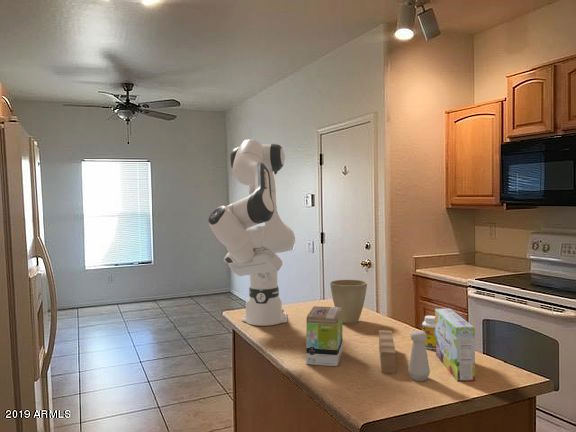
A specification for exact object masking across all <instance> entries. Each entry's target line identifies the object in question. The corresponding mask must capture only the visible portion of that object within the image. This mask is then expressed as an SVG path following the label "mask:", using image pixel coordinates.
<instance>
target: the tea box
mask: <svg viewBox="0 0 576 432" xmlns="http://www.w3.org/2000/svg"><path fill="white" fill-rule="evenodd" d="M343 324H344V323H343V310H342V308H340V307H335V306H334V307H333V306H318V305H317V306H313V307H312V308H311V310H310V311H309V313H308V314H307V315H306V330H305V331H306V333H305V334H306V338H305V339H306V340H305V341H306V342H305V345H306V346H305V347H306V348H305V351H306V352H305V364H306V365H312V366H323V367H324V366H325V367H326V366H328V367H338V365H339V362H340V360H341V356H342V352H343Z"/></svg>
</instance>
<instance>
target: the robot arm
mask: <svg viewBox="0 0 576 432" xmlns="http://www.w3.org/2000/svg"><path fill="white" fill-rule="evenodd" d="M229 155H230V157H229V163H230V166H231V168H232V174H233V176H234V178H235V180H236V181H238V183H240V184H243V185H245V186H248V196H245V197H244V198H241V199H239V200H237V201H234V202H232V203H230V204H228V205H221V206H218V207H216V208H215V209H214V210H213V211H212V212H211V213H210V215H208V218H207V219H208V220H207V222H208V225H209V228H210V230H211V231H212V233H213V234H214V236H215V237H216V238H217V240H218V241H219V243H221V244H222V245H224V246H225V248H226V251H227V253H226V255H224V258H223V262H224V263H225V264H227V266H228V267H229V268H230V269H231V271H232V272H233V273H234V274H235V275H237V276H238V277H242V276H243V277H244V276H249V282H250V283H249V285H250V286H249V288H248V289H249V291H248V294H249V295H248V297H249V298H248V299H247V300H246V301H245V316H244V317H242V318H241V322H245V323H247V324H249V325H251V326H260V327H261V326H264V327H265V326H267V327H268V326H274V325H278V324H285V323H288V316H287V311H285V310H284V309H283V307H282V306H283V304H282V303H283V302H282V300H281V297H279V295H280V289H279V286H278V272H279V271H280V269H281V268H282V266H283V260H282V259H281V258H280V256H279V255H277V254H279V253H286V252H289V251H291V250H292V249H293V247H294V246H295V242H296V237H295V233H294V231H293V230H292V228H291V227H289V226H288V225H287V224H286V223H285V222H284V221H283V220H282V219H281V217H280V215H279V213H278V208H277V207H278V206H277V193H276V192H277V189H276V180H275V176H274V175H277V174H278V172H279V171H280V170H281V169H282V168H283V166H284V163H285V160H286V156H285V152H284V150H283V147H282V146H281V144H278V143H271V144H267V143H264V144H261V142H260V141H258V140H255V139H253V138H251V139H245V140H243V141H242V143H240V144H239V146H238V147H236V148H234V149H233V150H231V152H230V154H229ZM263 223H264V225H263V226H262V225H259V224H263ZM256 225H258V226H256Z"/></svg>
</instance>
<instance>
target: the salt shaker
mask: <svg viewBox="0 0 576 432" xmlns="http://www.w3.org/2000/svg"><path fill="white" fill-rule="evenodd" d="M410 339H411V341H412V346H411V352H410V357H409V363H408V366H407V367H408V368H407V371H408V374H409V377H410V379H412V380H413V381H416V382H425V381H427V380H428V379H429V376H430V375H431V374H430V373H431V370H430V365H429V359H428V354H427V349H426V346H425V341H427V334H426V333H425V332H423V331H422V330H414V331H412V332H411V333H410Z"/></svg>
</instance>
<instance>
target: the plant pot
mask: <svg viewBox="0 0 576 432" xmlns="http://www.w3.org/2000/svg"><path fill="white" fill-rule="evenodd" d="M329 286H330V293H331V296H332V297H331V298H332V301H333V302H332V303H333V304H334V305H333V306H334V307H340V308H342V310H343V324H350V325H351V324H357V323H358V322H359V321H360V318H361V315H362V311H363V307H364V303H365V299H366V296H367V295H366V294H367V287H368V282H367V281H365V280H362V279H359V280H358V279H336V280H331V281H330V282H329Z"/></svg>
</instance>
